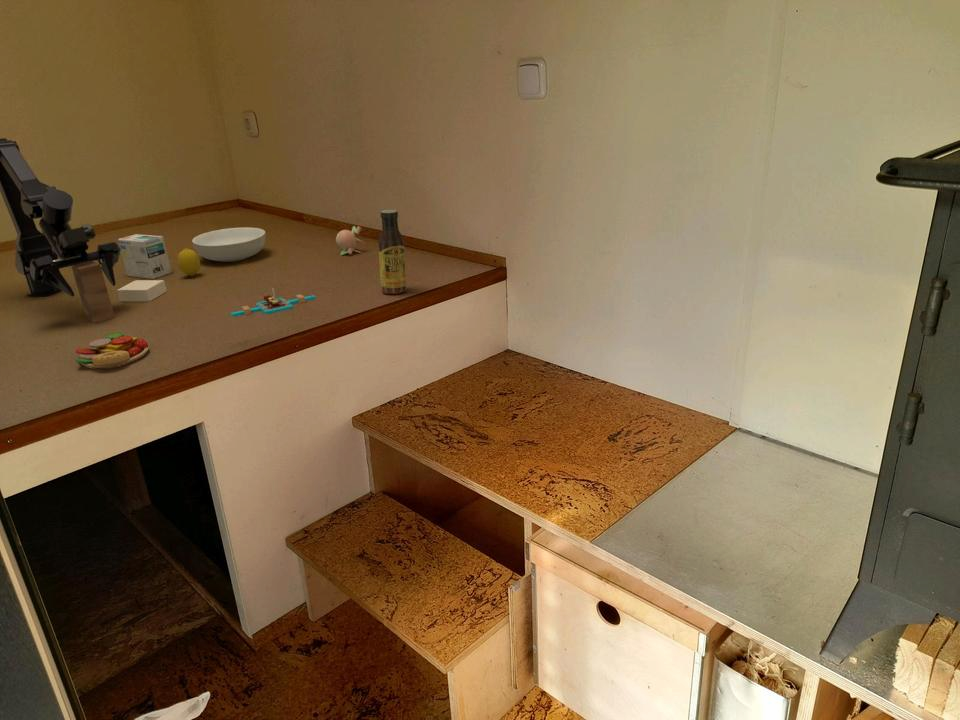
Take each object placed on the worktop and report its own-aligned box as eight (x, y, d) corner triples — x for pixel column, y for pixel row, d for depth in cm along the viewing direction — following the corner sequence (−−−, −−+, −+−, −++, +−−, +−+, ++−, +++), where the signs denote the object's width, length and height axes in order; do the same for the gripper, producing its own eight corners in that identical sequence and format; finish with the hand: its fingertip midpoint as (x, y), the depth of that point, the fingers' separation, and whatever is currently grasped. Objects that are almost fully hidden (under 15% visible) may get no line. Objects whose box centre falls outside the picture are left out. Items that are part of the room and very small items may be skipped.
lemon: (195, 279, 188) (189, 251, 185) (177, 279, 189) (170, 250, 186) (206, 273, 193) (200, 245, 190) (188, 273, 194) (182, 245, 191)
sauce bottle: (387, 297, 167) (378, 215, 159) (378, 290, 172) (369, 210, 164) (412, 292, 170) (404, 211, 162) (402, 285, 175) (395, 207, 167)
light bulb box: (172, 272, 196) (164, 235, 191) (153, 279, 190) (144, 241, 186) (145, 269, 200) (136, 233, 196) (126, 276, 194) (116, 238, 190)
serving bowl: (181, 265, 203) (176, 242, 200) (229, 247, 221) (225, 225, 218) (237, 270, 196) (233, 246, 193) (283, 250, 213) (279, 228, 210)
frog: (371, 234, 207) (359, 233, 213) (350, 220, 202) (338, 219, 207) (358, 263, 206) (345, 261, 211) (336, 250, 200) (324, 249, 206)
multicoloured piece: (226, 312, 164) (236, 322, 157) (222, 290, 162) (232, 300, 155) (307, 294, 174) (320, 304, 166) (304, 274, 172) (317, 282, 164)
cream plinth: (119, 301, 173) (116, 290, 172) (138, 291, 181) (135, 280, 179) (149, 301, 172) (146, 290, 171) (166, 291, 180) (164, 280, 178)
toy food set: (111, 376, 132) (107, 360, 131) (62, 368, 137) (57, 353, 135) (164, 349, 143) (160, 335, 142) (116, 343, 148) (112, 329, 147)
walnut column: (86, 319, 162) (71, 265, 157) (106, 313, 165) (91, 261, 160) (95, 323, 159) (79, 268, 154) (114, 317, 162) (99, 263, 157)
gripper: (18, 223, 149) (52, 280, 147) (106, 207, 162) (139, 259, 159) (16, 253, 157) (49, 308, 155) (101, 236, 170) (132, 286, 167)
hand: (94, 290), depth 159 cm, fingers open, 9 cm apart
